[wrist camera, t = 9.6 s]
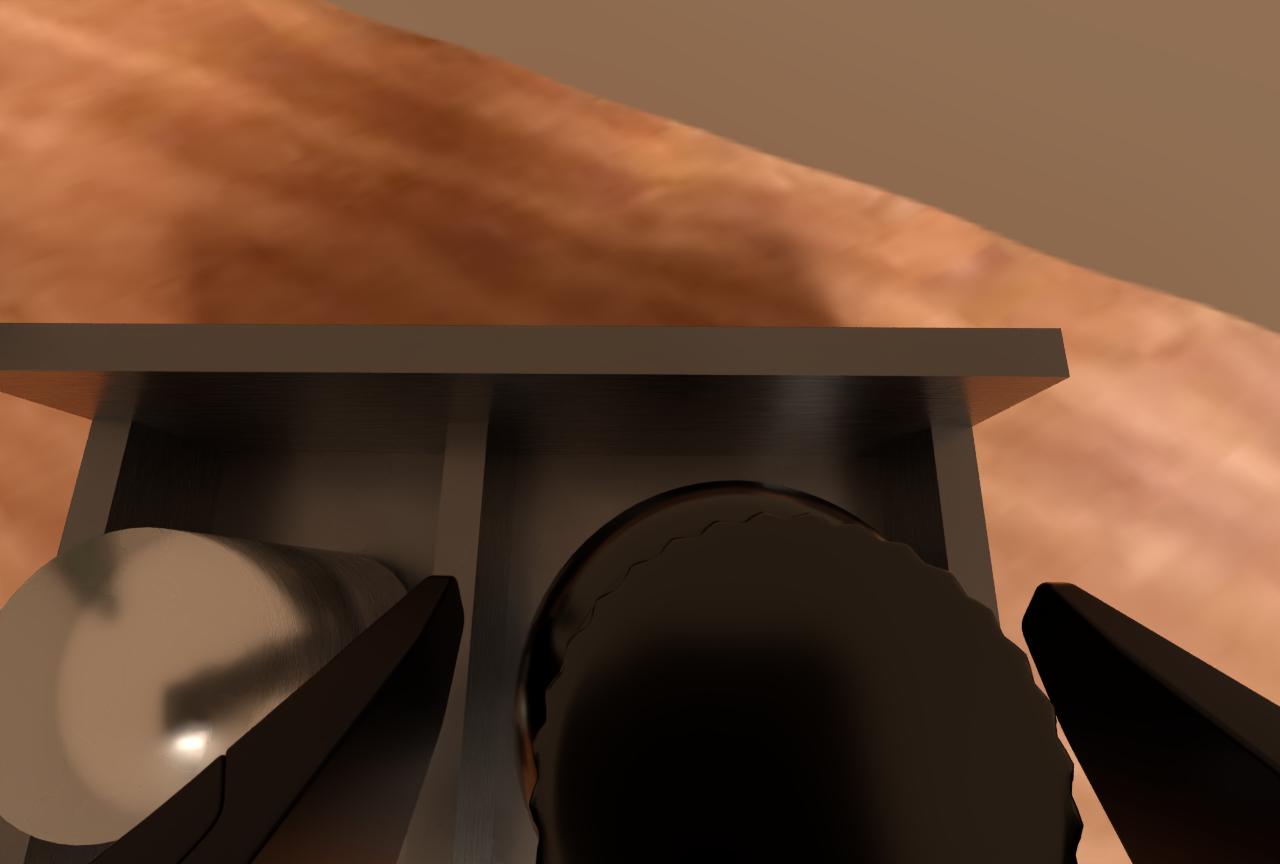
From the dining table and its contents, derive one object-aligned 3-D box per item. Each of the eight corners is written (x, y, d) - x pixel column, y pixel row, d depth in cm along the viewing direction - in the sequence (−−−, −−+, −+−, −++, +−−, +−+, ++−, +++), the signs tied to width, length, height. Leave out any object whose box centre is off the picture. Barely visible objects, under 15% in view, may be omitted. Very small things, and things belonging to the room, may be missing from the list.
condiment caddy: (943, 903, 16) (1226, 1201, 8) (130, 888, 16) (-345, 1163, 8) (894, 434, 19) (1060, 328, 11) (223, 429, 20) (-54, 323, 12)
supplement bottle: (782, 507, 18) (1040, 343, 6) (854, 754, 16) (1414, 1195, 4) (555, 559, 17) (371, 492, 6) (604, 818, 16) (478, 1479, 4)
